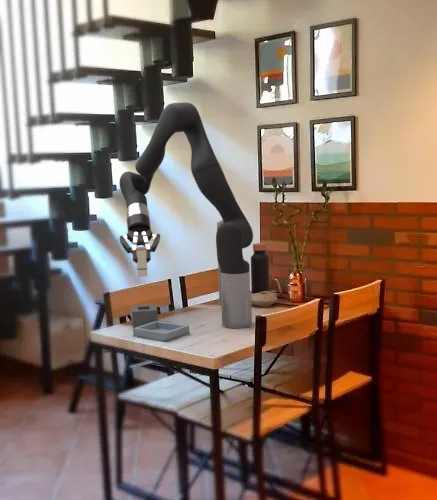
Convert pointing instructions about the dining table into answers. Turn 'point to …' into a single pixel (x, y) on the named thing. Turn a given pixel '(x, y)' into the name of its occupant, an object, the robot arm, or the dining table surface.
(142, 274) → the block
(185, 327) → the tray
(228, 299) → the robot arm
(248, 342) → the dining table surface
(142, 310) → the panel
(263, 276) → the bottle
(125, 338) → the dining table surface
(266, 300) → the pottery oil lamp
